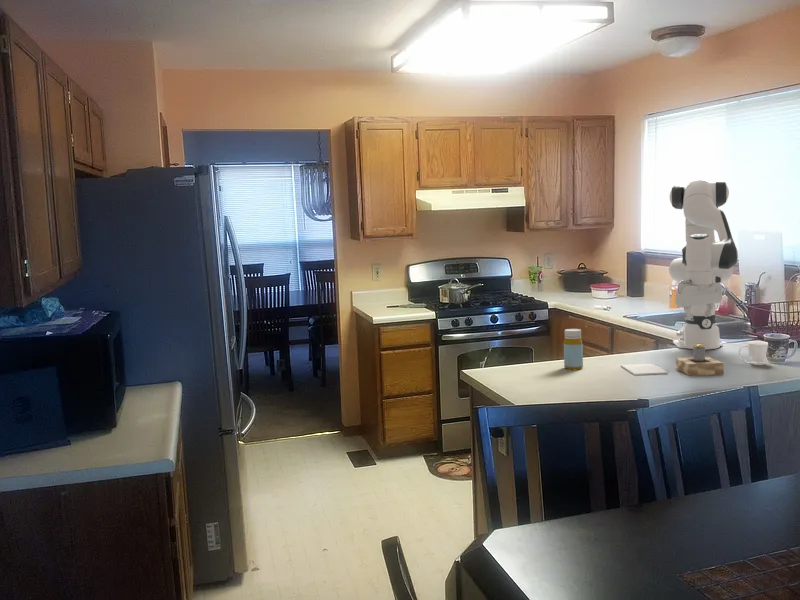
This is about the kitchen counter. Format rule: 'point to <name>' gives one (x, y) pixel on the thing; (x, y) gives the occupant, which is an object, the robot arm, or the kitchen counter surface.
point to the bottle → (573, 349)
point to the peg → (698, 352)
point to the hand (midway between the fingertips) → (699, 317)
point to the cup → (756, 351)
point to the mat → (644, 369)
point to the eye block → (699, 366)
